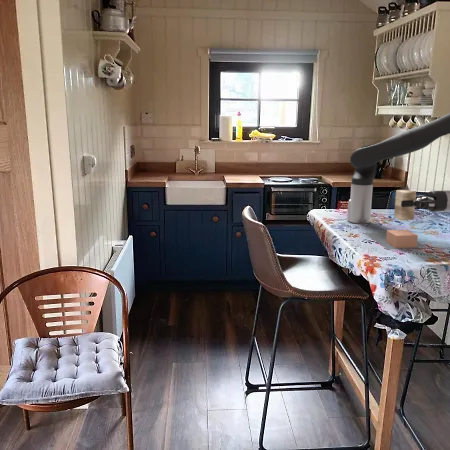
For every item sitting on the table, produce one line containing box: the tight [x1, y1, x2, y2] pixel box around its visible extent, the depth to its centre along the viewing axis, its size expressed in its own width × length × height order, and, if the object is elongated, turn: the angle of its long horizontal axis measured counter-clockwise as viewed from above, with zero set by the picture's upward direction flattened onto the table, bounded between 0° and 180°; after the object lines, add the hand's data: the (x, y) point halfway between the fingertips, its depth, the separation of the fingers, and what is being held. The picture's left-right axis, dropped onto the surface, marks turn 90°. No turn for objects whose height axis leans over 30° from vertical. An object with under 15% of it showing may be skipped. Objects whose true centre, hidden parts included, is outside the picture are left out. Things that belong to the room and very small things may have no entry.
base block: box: [386, 229, 419, 248], centre depth 169 cm, size 8×8×4 cm
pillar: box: [393, 189, 417, 221], centre depth 166 cm, size 5×5×10 cm
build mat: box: [363, 231, 428, 251], centre depth 175 cm, size 15×23×1 cm, turn 5°
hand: (398, 202), depth 165 cm, fingers closed on pillar, 5 cm apart
